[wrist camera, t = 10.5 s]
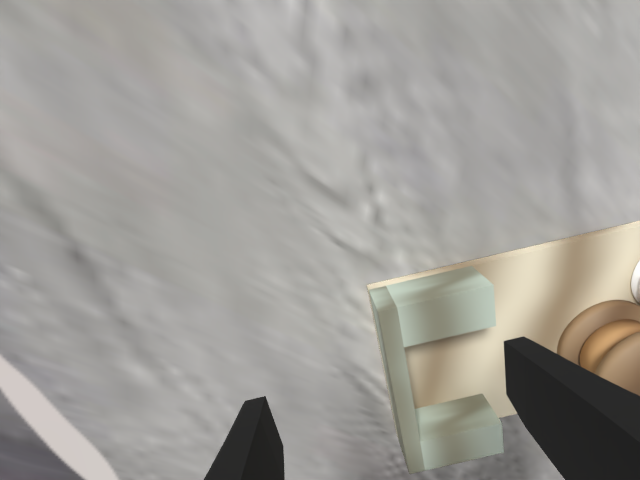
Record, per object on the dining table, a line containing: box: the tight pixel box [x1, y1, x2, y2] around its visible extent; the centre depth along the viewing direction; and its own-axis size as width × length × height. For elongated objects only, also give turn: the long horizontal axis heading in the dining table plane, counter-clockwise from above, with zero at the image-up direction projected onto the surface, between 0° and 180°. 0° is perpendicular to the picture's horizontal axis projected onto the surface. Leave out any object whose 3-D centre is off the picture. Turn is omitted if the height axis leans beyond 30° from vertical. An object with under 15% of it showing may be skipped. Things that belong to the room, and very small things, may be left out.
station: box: [367, 221, 640, 474], centre depth 21 cm, size 22×12×4 cm, turn 103°
